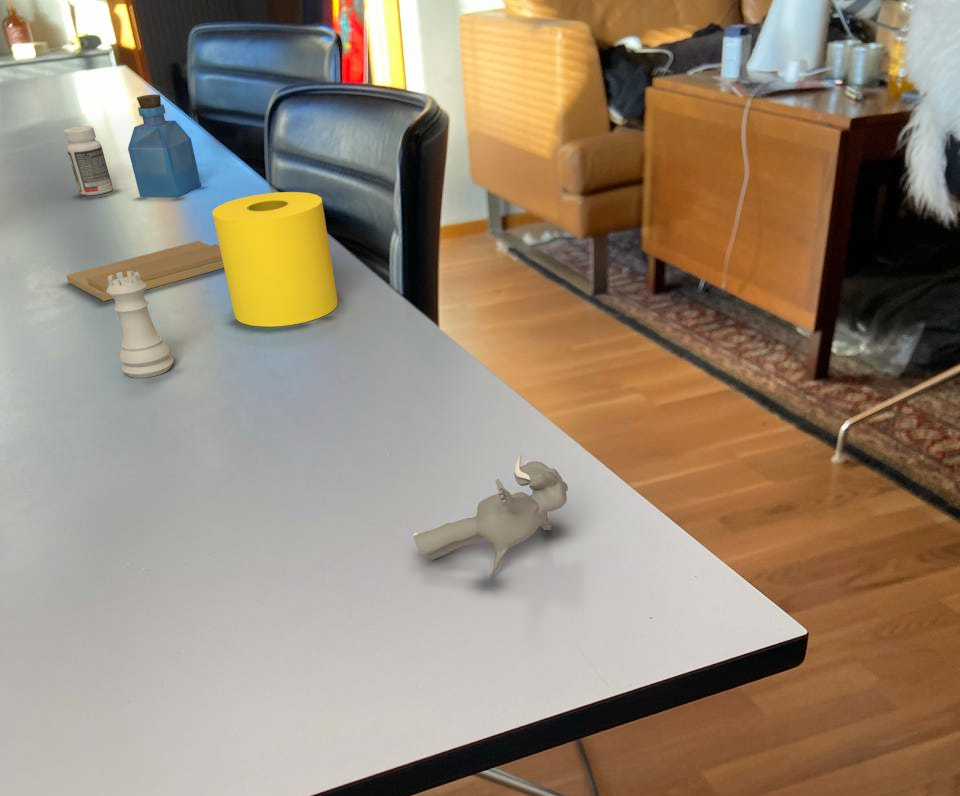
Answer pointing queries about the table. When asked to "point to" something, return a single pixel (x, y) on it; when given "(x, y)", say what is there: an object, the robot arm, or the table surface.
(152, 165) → the perfume bottle
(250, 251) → the yellow toilet paper roll
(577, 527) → the table surface
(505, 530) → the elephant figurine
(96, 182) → the pill bottle
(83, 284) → the wooden board
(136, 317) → the rook chess piece
